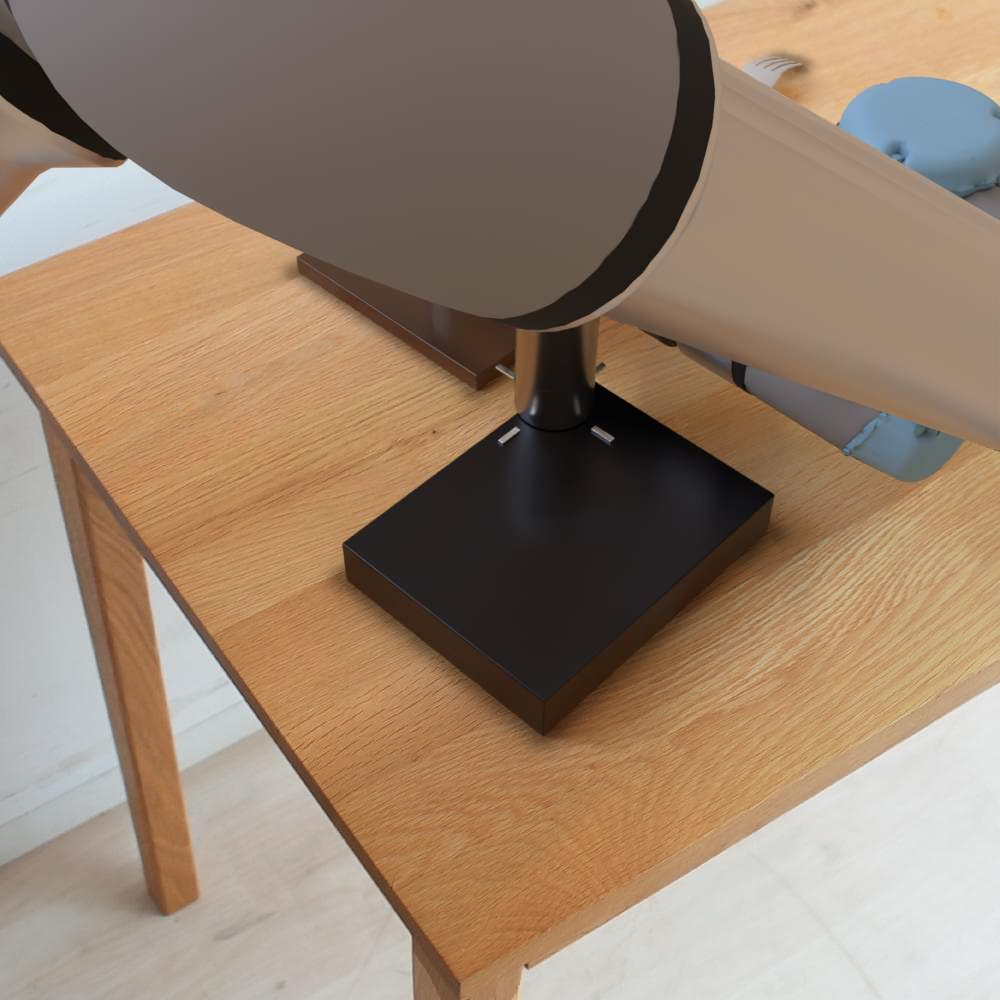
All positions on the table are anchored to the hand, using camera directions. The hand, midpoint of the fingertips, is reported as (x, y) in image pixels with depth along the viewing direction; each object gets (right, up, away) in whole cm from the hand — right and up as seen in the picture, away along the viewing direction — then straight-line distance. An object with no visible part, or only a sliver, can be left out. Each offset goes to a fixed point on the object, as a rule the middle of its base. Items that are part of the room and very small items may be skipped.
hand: (414, 123), depth 89 cm
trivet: (+4, -8, +4) cm, 10 cm away
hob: (+8, -25, -11) cm, 28 cm away
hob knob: (+8, -18, -8) cm, 21 cm away
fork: (+22, +3, +15) cm, 26 cm away
